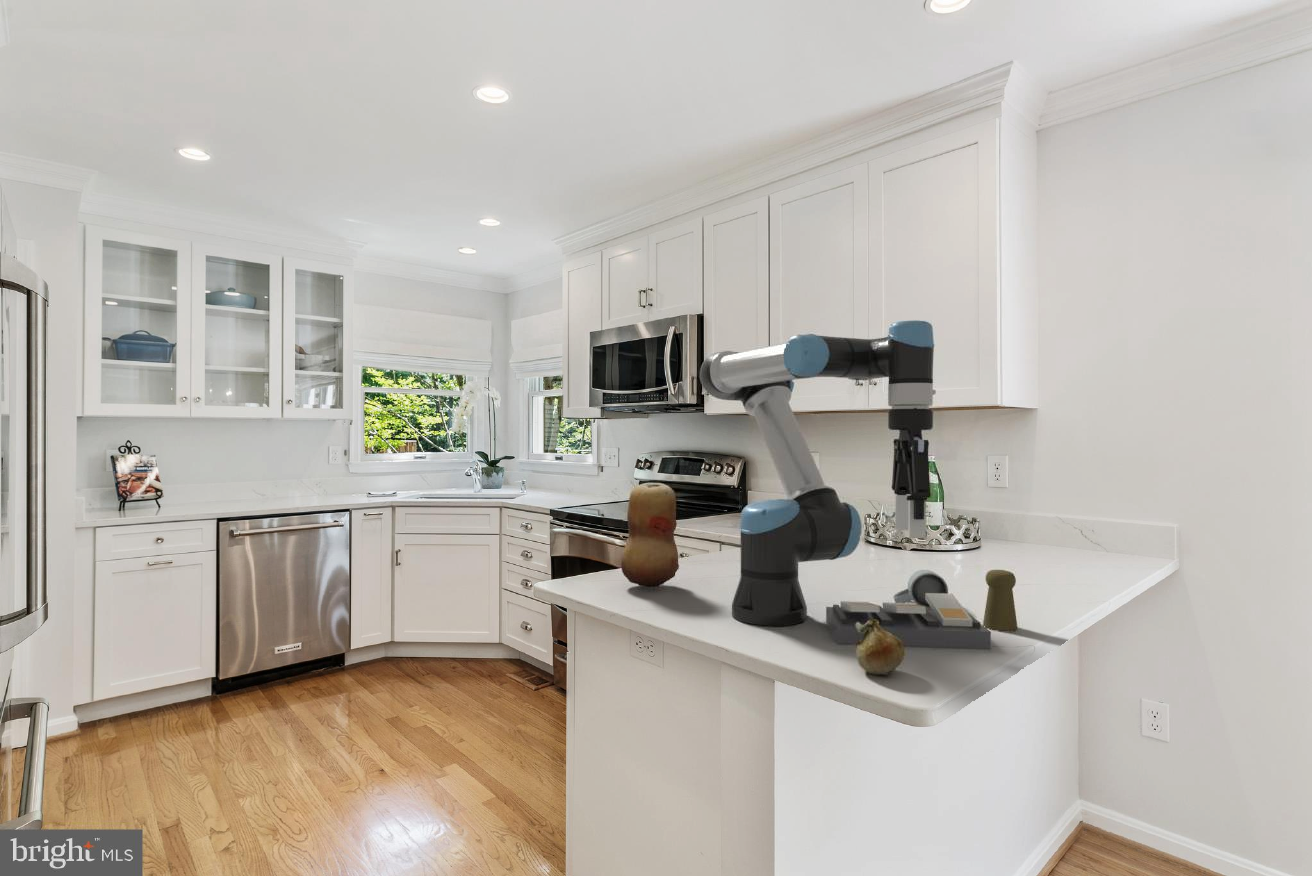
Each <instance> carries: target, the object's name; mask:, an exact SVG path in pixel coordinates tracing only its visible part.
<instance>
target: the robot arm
mask: <svg viewBox="0 0 1312 876" xmlns="http://www.w3.org/2000/svg"><path fill="white" fill-rule="evenodd" d="M934 349H935V344H934V330H933V325H932V323H930V322H928V321H926V320H916V319H915V320H914V319H913V320H901V321H896V322H893V323H891V324H890V325H889V327H888V333H887V336H885V337H879V338H869V339H868V338H867V339H866V338H854V337H853V338H852V337H840V336H839V337H837V336H829V335H828V336H827V335H826V336H825V335H817V334H812V333H806V334H796V335H793V336H792V337H790V340H788V341H786V342H782V343H778V344H773V345H769V346H763V347H760V348H754V349H750V350H745V351H741V352H739V351H731V350H723V351H719V352H714V353H712V354H710V355H709V356H708V357H706V358H705V360H704V361H703V362H702V364H701V367H700V369H699V380H700V383H701V386H702V388H703V389H704V391H705V392H706V393H708V394H709V395H711V396H712V397H713V398H715V399H717V400H718V399H719V400H724V401H737V402H738V401H739V402H741V403H742V405H743V408H744V410H745V412H746V414H747V415H748V416H751V417H754V418H755V421H756V423H757V426H758V428H759V430H760V431H759V432H760V433H761V435H762V437H763V441H764V442H765V446H766V447H767V451H768V453H769V455H770V459H772V463H773V465H774V468H775V470H776V473H777V475H778V477H779V480H780V483H781V485H782V487H783V490H784V492H785V496H786V497H787V498H786V499H785V498H778V499H766V500H760V501H755V502H752V503H749V504H747V505H745V507H743V509H742V511H741V514H740V524H739V531H740V577H739V582H738V584H737V588H736V591H735V592H734V596H733V600H732V602H731V616H732V617H733V618H734V619H735V620H738V621H740V622H743V623H747V624H752V625H757V626H758V625H759V626H768V627H770V626H771V627H774V626H775V627H780V626H781V627H782V626H783V627H784V626H793V625H797V624H801V623H803V622H805V621H807V619H808V607H807V603H806V599H805V597H804V595H803V594H804V593H803V590H802V588H801V587H802V586H801V584H800V582H799V563H806V562H816V561H826V560H827V561H828V560H829V561H834V560H837V559H840V558H846V557H848V556H850V555H852V554H853V553H854V551H856V549H857V547H858V546H859V543H860V541H861V535H862V529H863V528H862V521H861V517H860V514H859V512H858V510H857V508H855V507H854V506H853V505H852V504H849V503H847V502H841V500H840V497H839V496H838V494H837V492H836V490H835V489H834V488H833V487H831V486H828V485H826V484H825V481H824V480H823V478H822V475H821V473H820V470H819V468H818V466H817V464H816V461H815V460H814V457H813V455H812V452H811V450H810V448H809V446H808V444H807V441H806V439H805V436H804V434H803V432H802V430H801V427H800V425H799V423H798V421H797V419H796V416H795V414H794V412H793V409H792V407H791V405H790V401H791V399H792V396H793V395H792V393H793V390H794V387H795V382H794V381H793V380H800V379H801V380H802V379H803V380H804V379H810V378H842V379H848V380H852V381H868V380H873V379H880V378H881V379H882V378H888V385H887V386H888V387H887V390H888V391H887V392H888V393H887V397H888V398H887V405H888V407H891V409H889V410H888V412H887V414H888V416H887V417H888V420H887V421H888V422H887V423H888V429H889V430H891V431H899V434H898V438H894V440H893V441H892V442H893V462H892V477H891V478H892V480H891V489H892V491H893V493H894V530H895V531H907V532H908V533H907V534H908V535H907V536H908V539H926V535H927V532H926V531H927V529H926V528H927V525H926V524H927V519H926V518H927V500H928V499H930V498H931V495H932V494H931V480H930V479H931V477H930V466H929V464H930V463H929V445H930V442H929V440H928V439H923V434H922V431H930V430H931V431H932V429H933V427H934V421H933V420H934V411H933V410H932V409H930V407H932V406H933V403H934V402H933V399H934V397H933V396H934V395H936V393H937V391H936V390H935V389H933V388H934V386H933V385H934V351H935V350H934Z"/></svg>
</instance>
